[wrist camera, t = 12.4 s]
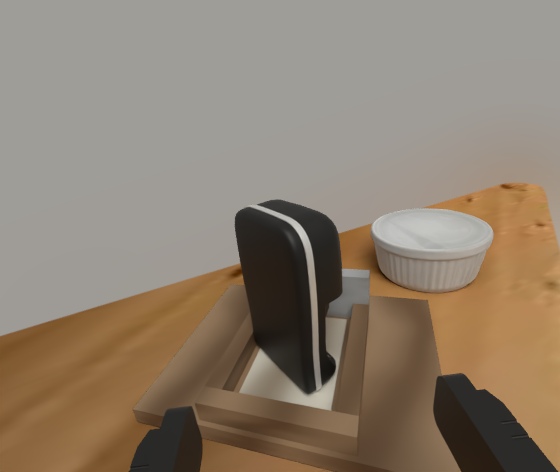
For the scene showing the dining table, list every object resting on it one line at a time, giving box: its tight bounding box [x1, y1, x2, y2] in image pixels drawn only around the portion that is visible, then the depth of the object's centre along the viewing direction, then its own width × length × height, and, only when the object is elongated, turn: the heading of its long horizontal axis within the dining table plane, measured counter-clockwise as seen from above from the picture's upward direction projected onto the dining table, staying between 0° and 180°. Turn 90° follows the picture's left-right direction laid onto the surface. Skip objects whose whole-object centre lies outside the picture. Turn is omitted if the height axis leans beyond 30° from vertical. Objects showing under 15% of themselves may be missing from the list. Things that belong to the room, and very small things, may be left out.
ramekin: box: [371, 209, 493, 293], centre depth 34 cm, size 11×11×5 cm
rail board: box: [133, 269, 459, 472], centre depth 24 cm, size 19×15×5 cm
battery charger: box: [235, 200, 343, 394], centre depth 21 cm, size 7×4×11 cm, turn 35°
